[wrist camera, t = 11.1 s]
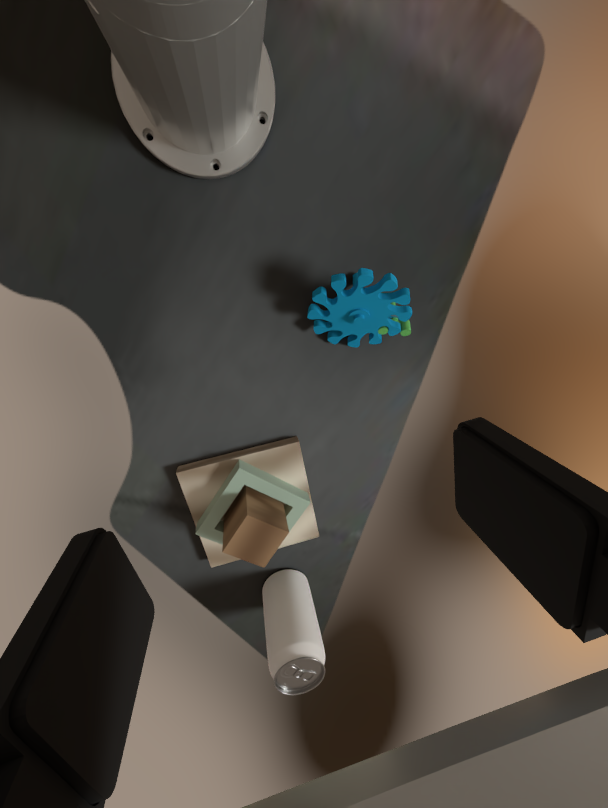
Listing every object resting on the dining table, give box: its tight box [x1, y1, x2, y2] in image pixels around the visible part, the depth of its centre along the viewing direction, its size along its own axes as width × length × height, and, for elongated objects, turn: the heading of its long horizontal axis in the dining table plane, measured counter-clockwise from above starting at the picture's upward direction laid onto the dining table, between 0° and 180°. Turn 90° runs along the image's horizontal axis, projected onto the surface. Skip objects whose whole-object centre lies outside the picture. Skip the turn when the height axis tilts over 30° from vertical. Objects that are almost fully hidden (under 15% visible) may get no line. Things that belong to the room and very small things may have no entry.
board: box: [176, 436, 319, 568], centre depth 41 cm, size 14×14×2 cm
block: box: [222, 485, 289, 567], centre depth 38 cm, size 5×5×6 cm
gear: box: [307, 268, 412, 347], centre depth 34 cm, size 11×6×10 cm
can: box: [262, 569, 325, 695], centre depth 42 cm, size 6×6×12 cm
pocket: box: [195, 459, 311, 545], centre depth 40 cm, size 10×10×2 cm
